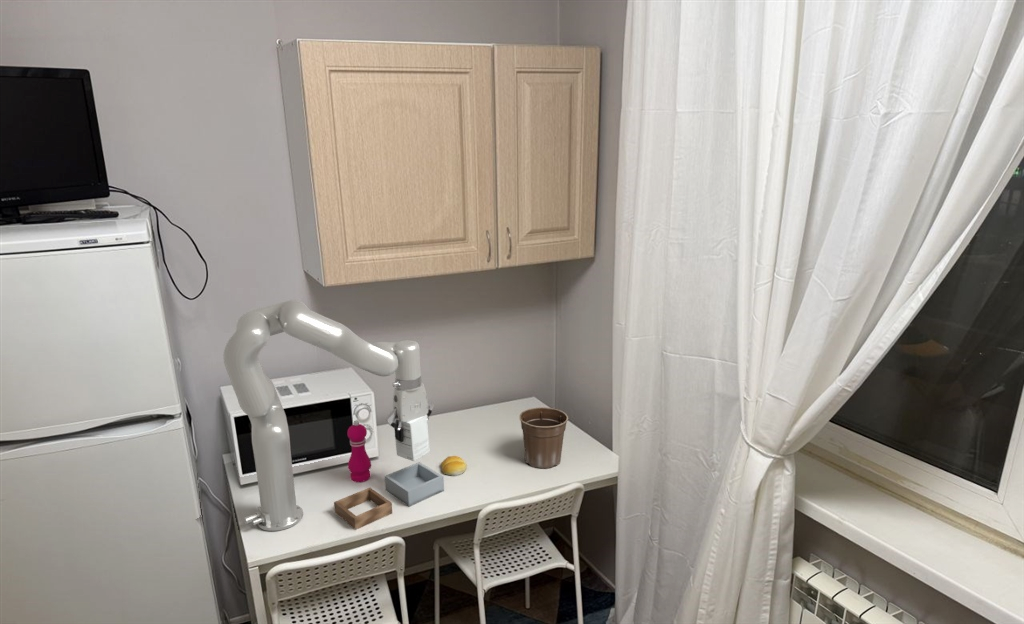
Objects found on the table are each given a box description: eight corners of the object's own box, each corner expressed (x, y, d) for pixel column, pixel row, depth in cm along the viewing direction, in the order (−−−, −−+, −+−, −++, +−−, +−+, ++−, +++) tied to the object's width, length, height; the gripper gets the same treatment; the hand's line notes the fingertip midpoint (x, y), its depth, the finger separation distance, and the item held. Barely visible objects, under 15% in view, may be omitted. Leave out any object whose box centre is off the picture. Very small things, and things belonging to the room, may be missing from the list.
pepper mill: (376, 475, 208) (372, 418, 203) (361, 485, 202) (356, 427, 197) (360, 470, 212) (355, 414, 207) (344, 479, 206) (339, 422, 201)
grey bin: (409, 506, 190) (408, 491, 189) (385, 490, 199) (384, 475, 198) (444, 490, 198) (443, 476, 197) (419, 475, 208) (419, 461, 206)
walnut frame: (355, 529, 179) (354, 518, 178) (334, 512, 187) (333, 502, 186) (392, 513, 187) (391, 502, 186) (370, 497, 195) (370, 487, 194)
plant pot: (565, 449, 225) (566, 406, 221) (569, 472, 209) (569, 426, 205) (519, 449, 225) (519, 406, 221) (519, 472, 209) (519, 426, 205)
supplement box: (412, 446, 201) (410, 409, 198) (430, 452, 197) (427, 414, 193) (395, 455, 195) (392, 417, 192) (413, 462, 191) (410, 423, 188)
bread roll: (444, 478, 206) (443, 467, 205) (440, 465, 215) (439, 454, 214) (469, 474, 208) (469, 463, 207) (464, 462, 217) (463, 451, 216)
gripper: (390, 393, 181) (394, 449, 186) (439, 377, 193) (442, 431, 197) (376, 386, 187) (380, 441, 191) (425, 371, 198) (428, 423, 203)
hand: (411, 435), depth 194 cm, fingers closed on supplement box, 8 cm apart
